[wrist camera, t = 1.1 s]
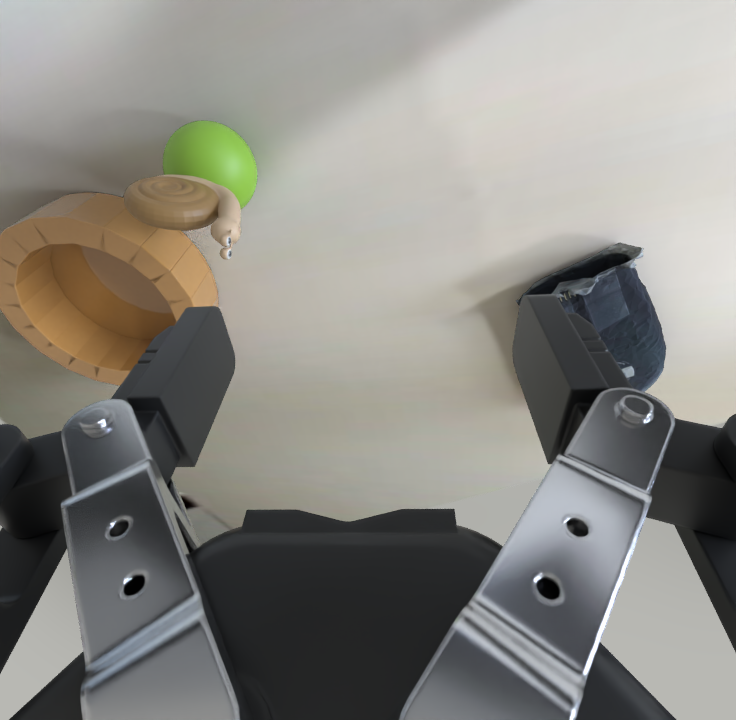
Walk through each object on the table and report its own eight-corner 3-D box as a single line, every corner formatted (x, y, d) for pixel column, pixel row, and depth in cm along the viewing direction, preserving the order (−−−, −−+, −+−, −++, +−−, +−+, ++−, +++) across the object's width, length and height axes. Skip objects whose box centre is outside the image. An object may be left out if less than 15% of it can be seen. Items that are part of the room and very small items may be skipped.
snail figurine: (278, 208, 31) (231, 300, 22) (186, 190, 30) (98, 277, 21) (282, 124, 28) (228, 192, 18) (178, 103, 27) (69, 162, 18)
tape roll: (-13, 196, 31) (-63, 221, 28) (185, 187, 30) (159, 213, 27) (83, 354, 41) (55, 387, 37) (237, 351, 40) (223, 385, 36)
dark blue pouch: (498, 288, 36) (562, 413, 42) (518, 315, 31) (587, 452, 37) (610, 226, 34) (660, 369, 40) (650, 245, 29) (701, 404, 35)
